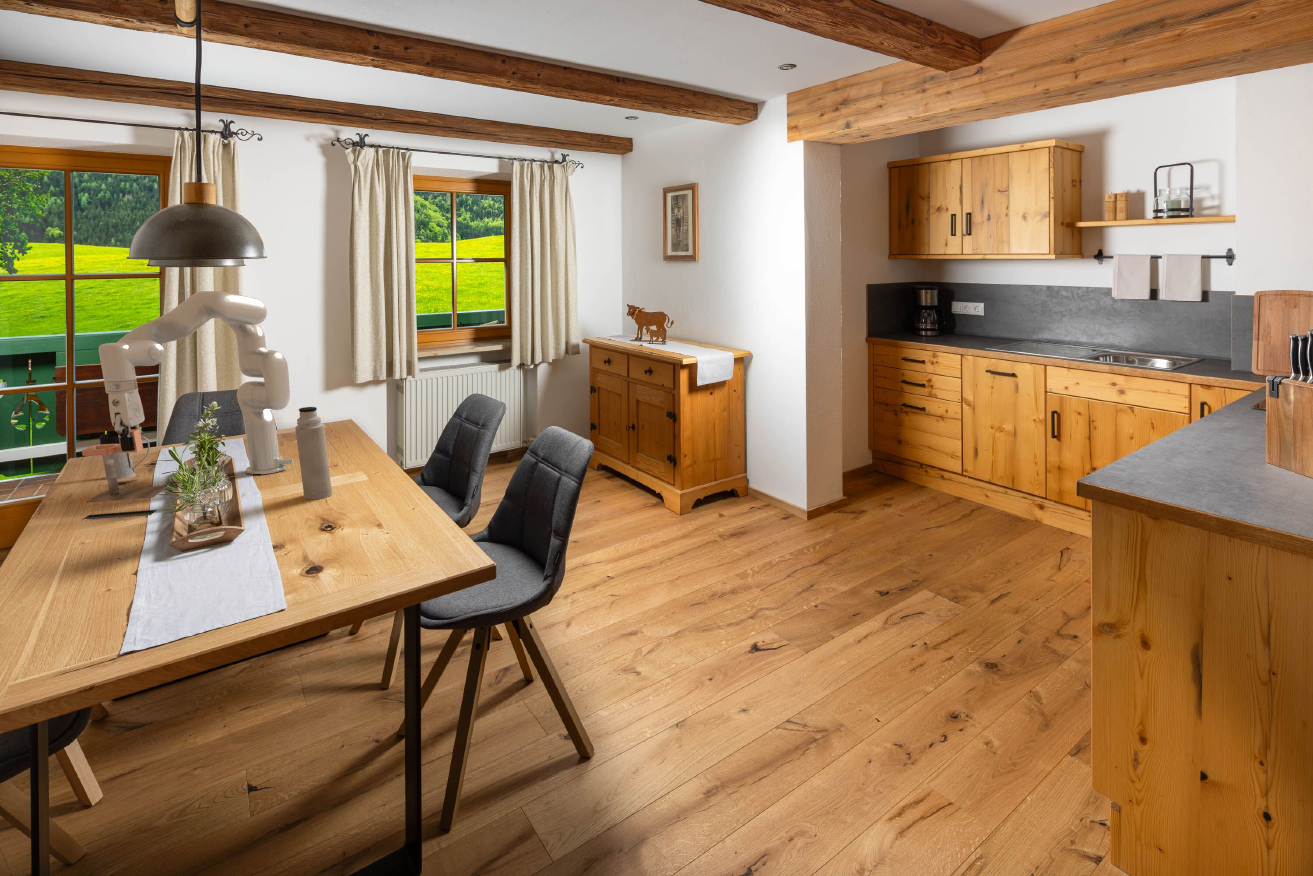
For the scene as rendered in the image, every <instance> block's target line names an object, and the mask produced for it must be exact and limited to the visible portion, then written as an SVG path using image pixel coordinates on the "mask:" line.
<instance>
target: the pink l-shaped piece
mask: <svg viewBox="0 0 1313 876" xmlns="http://www.w3.org/2000/svg"><path fill="white" fill-rule="evenodd" d="M125 430H126V431H127V429H125ZM141 436H142V434H141V428H140V429H131V437H133V440H134V446H135V450H134V451H122V449H121V443H120V444H104V445H100V444H95V445H90V446H89V447H86V448H84V449H82V450H81V454H82V456H83V457H93V456H96V457H97V456H102V455H108V454H114V453H116V452H121V453H129V452H130V453H138V452H140V451H142V450H143V449H144V446H143V440H142V439H143V438H141ZM119 442H120V438H119Z"/></svg>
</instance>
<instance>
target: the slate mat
mask: <svg viewBox="0 0 1313 876" xmlns="http://www.w3.org/2000/svg"><path fill="white" fill-rule="evenodd" d="M155 512H157V509H150V510H139V511H138V510H135V511H123V512H110V513H97V514H96V513H95V514H88V515H86V516H85V517H84V518H82V521H85V520H84V519H93V520H102V519H101V518H106V519H115V518H116V517H118V518H126V517H127V518H130V517H141V516H142V517H143V516H152V514H154V513H155ZM116 519H117V518H116Z"/></svg>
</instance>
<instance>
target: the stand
mask: <svg viewBox="0 0 1313 876" xmlns="http://www.w3.org/2000/svg"><path fill="white" fill-rule="evenodd" d="M104 466H105V468H104V471H106V473H105V478H106V477H107V481H106V482H107V486H108V489H106V490H104V491H102V492H100V493H99V494H97V495H96V496H94V497H92V498H91V499H89V500H88V501H86V503H96V502H110V501H112V502H113V501H123V500H124V501H127V500H139V499H141V500H142V499H153V498H155V497H156V496H158V495H159V494H160V493H162V492H163V491H165V490H166V489H164V486H165V485H159V486H144V487H131V488H130V487H129V488H128V487H127V488H119V485H118V484H119V483H118V479H117V477H116V472H115V467H114V461H113V459H110V460H104V463H103V467H104Z"/></svg>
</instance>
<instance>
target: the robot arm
mask: <svg viewBox="0 0 1313 876" xmlns="http://www.w3.org/2000/svg"><path fill="white" fill-rule="evenodd" d="M267 315H268V311H267V308H266V306H265V304H264V303H263V301H261V300H259V299H257V298H255V297H250V296H245V295H241V294H236V293H233V292H229V291H222V290H202V291H197V292H195V293H193V294H192V295H190V296H189V297H188V298H186V299H184V301H182V302H181V303H179V305H177V306H176V307H175V308H173V309H171V310H170V311H169V312H167V313H165V314H164V315H162V316H159V317H156V318H155V319H153V320H150V321H149V322H148V321H147V322H146V323H144V324H142V325H139V326H137V327H135V328H134V329H132V330H130V331H129V332H128V333H126V334H125V335H124V336H123V337H121V338H119V340H118V341H116V342H107V343H102V344H100V345H99V346H98V355H99V360H100V366H101V367H100V368H101V371H102V378H103V381H104V382H103V383H104V388H105V389H104V390H105V393H106V394H107V395H108V396H107V397H108V406H109V407H108V408H109V414H110V421H111V424H112V427H114V431H115V433H118V436H119V438H120V443H121V449H122V451H134V450H135V446H134V440H133V437H131V429H140V430H141V423H144V421H146V420H145V419H146V418H145V414H144V413H145V412H144V407H143V404H142V400H141V396H140V394H139V387H138V381H137V380H138V379H137V374H136V368H135V367H151V366H157V365H159V364H161V363H162V361H163V360H165V358H166V350H165V348H164V346H163V345H162V344H167V343H169V342H174V341H175V342H176V341H179V340H183V339H186V338H187V337H191V336H192V335H193V334H194V333H195V332H196V331H198V330H199V329H200V328H202V326H204V325H205V324H207V323H208V322H209V321H210V320H213V319H220V320H221V321H223V323H226V325H228V327H230V329H231V330H232V331H233V333H234V334H235V338H236V343H237V354H238V365H239V370H240V373H242V375H244V376H246V377H249V378H260V379H261V378H263V381H258V380H251V381H245V382H244V383H242V384H241V385H240V386H239V387H238V389H237V391H236V400H237V403H238V406H239V408H240V411H241V413H242V417H243V423H244V431H245V432H244V433H245V438H246V445H247V454H248V460H249V466H248V467H246V468H245V473H246V474H248V473H249V474H248V475H253V474H261V475H268V474H269V475H270V474H274V473H278V472H282V471H284V470H286V468H287V465H293V464H294V461H295V460H294V459H293V458H291V457H288V458H285V457H283V455H282V454H280V449H279V441H278V431H277V426H276V425H277V424H276V419H275V416H274V414H273V412H272V411H280V410H283V409H285V408H286V407H287V406H288V404H289V401H290V399H291V391H290V387H291V386H290V375H289V373H290V372H289V366H288V365H289V364H288V361H287V359H286V357H285V356H284V354H282V352H279V351H277V350H273V349H267V345H266V344H267V343H266V337H265V332H264V330H263V328H262V326H261V323H264V321H265V320H266V318H267ZM126 430H127V431H126Z"/></svg>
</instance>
